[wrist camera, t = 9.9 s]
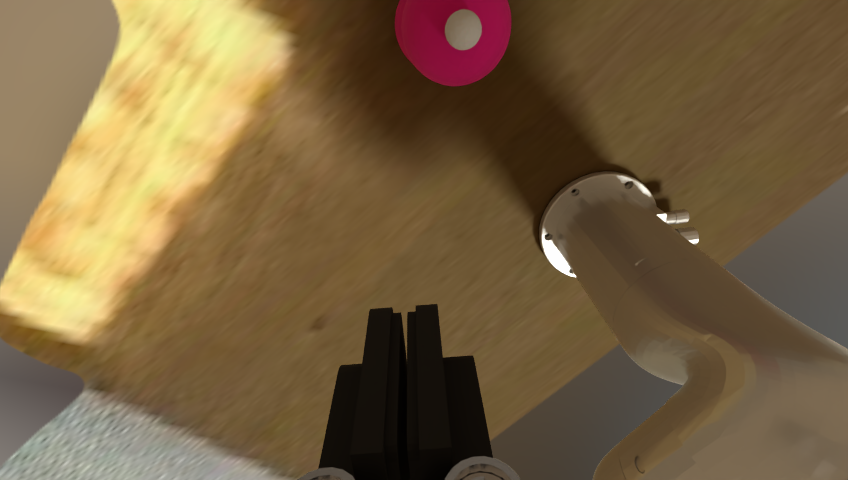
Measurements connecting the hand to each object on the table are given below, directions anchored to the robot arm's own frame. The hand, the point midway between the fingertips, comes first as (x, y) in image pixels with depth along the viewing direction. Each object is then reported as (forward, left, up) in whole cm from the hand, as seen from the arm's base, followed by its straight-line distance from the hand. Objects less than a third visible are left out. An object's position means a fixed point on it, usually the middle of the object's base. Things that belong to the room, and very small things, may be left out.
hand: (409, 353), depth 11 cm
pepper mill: (-4, -7, -34) cm, 35 cm away
